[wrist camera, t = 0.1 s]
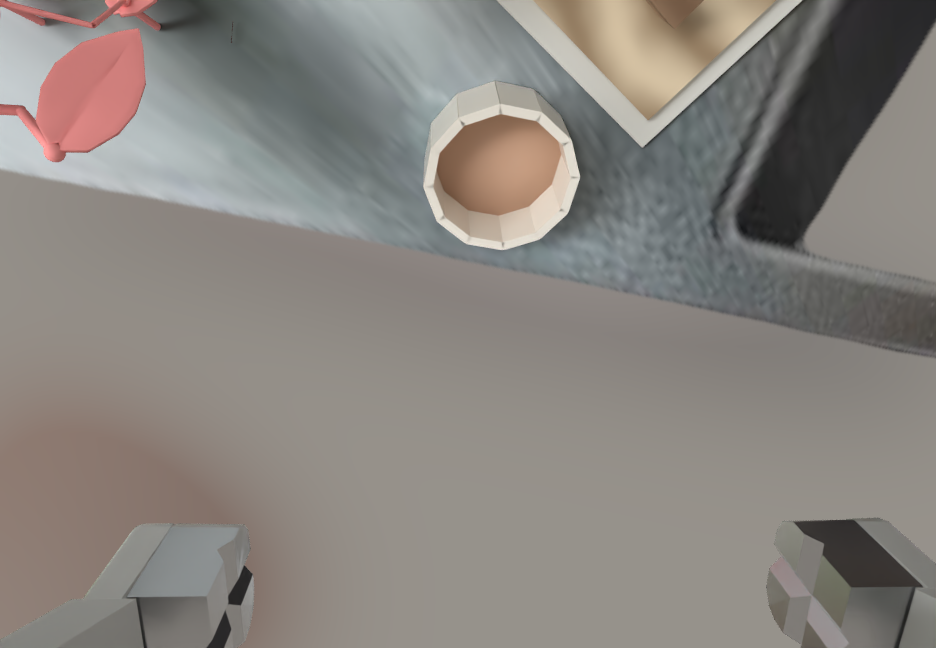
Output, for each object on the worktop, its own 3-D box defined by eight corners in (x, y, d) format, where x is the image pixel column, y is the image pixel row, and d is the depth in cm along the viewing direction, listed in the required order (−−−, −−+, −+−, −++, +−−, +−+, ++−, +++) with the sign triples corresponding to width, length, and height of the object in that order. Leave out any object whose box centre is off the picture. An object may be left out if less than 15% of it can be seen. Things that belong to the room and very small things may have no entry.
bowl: (494, 50, 55) (499, 71, 50) (595, 148, 61) (608, 175, 56) (397, 160, 61) (394, 188, 56) (498, 241, 66) (503, 272, 61)
